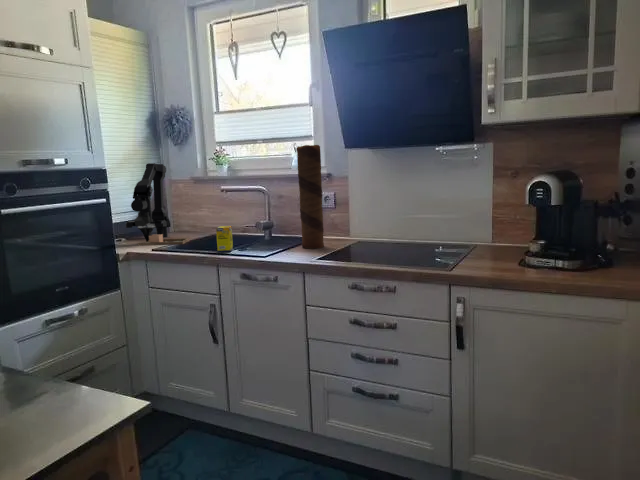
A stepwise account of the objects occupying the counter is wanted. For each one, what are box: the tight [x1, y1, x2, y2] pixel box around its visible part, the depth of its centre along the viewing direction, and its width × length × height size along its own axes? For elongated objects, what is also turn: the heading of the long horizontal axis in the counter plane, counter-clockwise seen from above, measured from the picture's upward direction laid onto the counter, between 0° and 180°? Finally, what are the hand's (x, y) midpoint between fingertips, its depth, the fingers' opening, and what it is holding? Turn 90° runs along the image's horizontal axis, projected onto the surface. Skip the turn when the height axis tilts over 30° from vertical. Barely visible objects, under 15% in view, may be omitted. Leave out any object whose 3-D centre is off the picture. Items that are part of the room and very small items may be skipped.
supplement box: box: [215, 225, 234, 253], centre depth 230 cm, size 6×6×11 cm
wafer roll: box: [296, 144, 325, 249], centre depth 229 cm, size 10×11×45 cm
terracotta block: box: [149, 234, 164, 242], centre depth 256 cm, size 5×5×4 cm
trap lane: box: [137, 237, 191, 247], centre depth 256 cm, size 12×22×2 cm, turn 87°
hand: (147, 241), depth 256 cm, fingers closed
